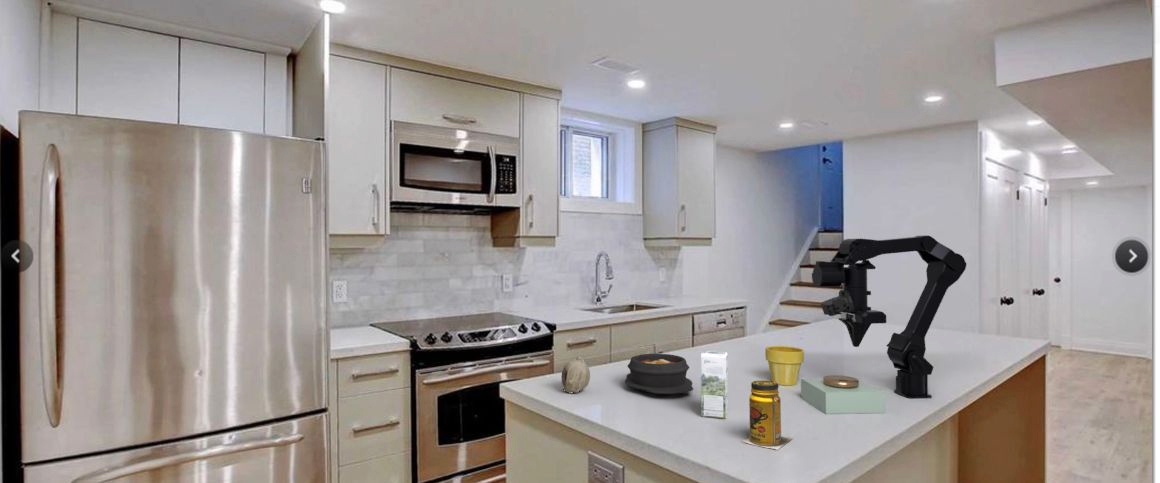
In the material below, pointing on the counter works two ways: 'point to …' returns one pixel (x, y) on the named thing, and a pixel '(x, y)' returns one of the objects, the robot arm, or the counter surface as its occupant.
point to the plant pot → (784, 363)
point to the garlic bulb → (575, 375)
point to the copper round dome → (841, 381)
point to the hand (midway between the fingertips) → (855, 346)
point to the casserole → (659, 374)
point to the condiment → (765, 416)
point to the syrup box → (714, 384)
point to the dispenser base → (842, 397)
